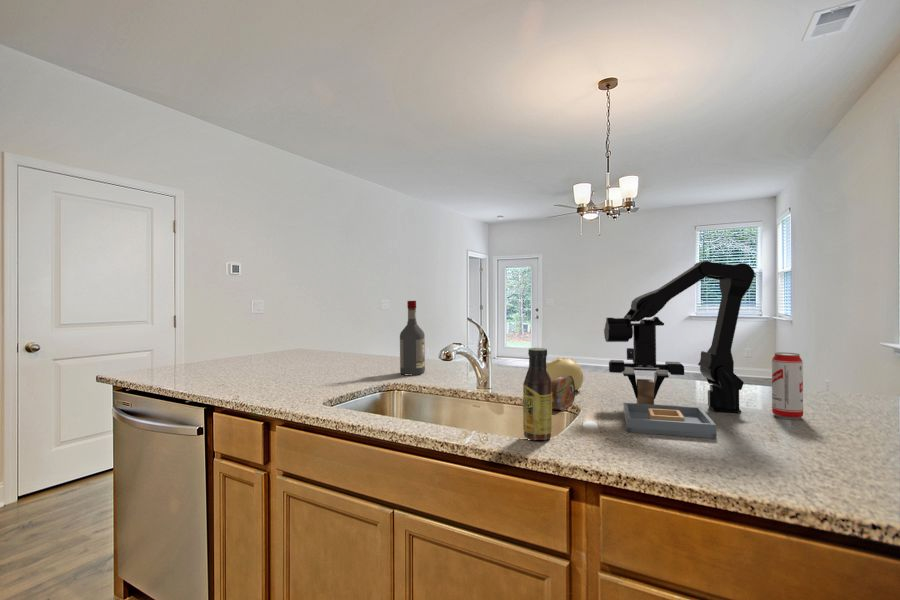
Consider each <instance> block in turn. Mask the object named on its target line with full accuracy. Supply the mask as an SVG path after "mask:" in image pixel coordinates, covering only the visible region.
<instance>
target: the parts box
mask: <svg viewBox="0 0 900 600" xmlns="http://www.w3.org/2000/svg"><path fill="white" fill-rule="evenodd" d="M623 417H624V423H625V428H626V431H627V433H636V434H637V433H638V434H639V433H640V434H650V435H652V434H653V435H654V434H655V435H661V436H662V435H663V436H664V435H665V436H675V437H676V436H677V437H691V438H703V439H704V438H705V439H716V440H717V438H718V437H717V424H716V423H715V422H714V421H713V419H712V418H711V417H710V416H709V415H708V414H707V413H706V412H705V411H704V410H703V408H702V407H701V406H686V405H668V404H667V405H666V404H655V403H654V404H637V402H636V403H635V402H633V403H632V402H623Z"/></svg>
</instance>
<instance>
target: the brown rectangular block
mask: <svg viewBox="0 0 900 600" xmlns="http://www.w3.org/2000/svg"><path fill="white" fill-rule="evenodd" d="M636 385H637V392H638V398H636V403H637V404H654V405H655V399H654V379H645V378H644V379H643V378H636Z"/></svg>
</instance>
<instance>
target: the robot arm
mask: <svg viewBox="0 0 900 600" xmlns="http://www.w3.org/2000/svg"><path fill="white" fill-rule="evenodd" d="M754 277H755V270H754V269H753V268H752V266H750V264H748V263H745V262H741V263H735V264H734V263H733V264H732V263H731V264H729V263H720V262H711V261H708V260H703V261H699V262H696V263H695V264H694V265H693V266H692V267H690V268H688V269H687V270H685V271H684V272H682V273H681V274H679V275H677V276H676V277H675V278H672V279H671V280H670V281H669V282H667V283H665V284H663V285H662V286H661V287H659V288H656V289H655V290H652V291H648V292H646V293H644V294H642V295H640V296H637V297H635V298H634V299H632V301H631V303H630V308H629V310H628V311H627V313H626V314H625V315H624V316H623V317H606V318H605V319H606V320H605V321H606V322H605V323H604V329H603V335H604V339H605V342H606V343H628V342H629V340H631V339H632V338H633V339H632V340H633V347H627V348H626V360H627V361H632V363H631V362H629V363H628V362H625V361H624V360H623V359H610V360H609V361H608V373H613V374H614V373H616V374H617V373H618V374H620V373H622V376H624V377H628V379H629V380H628V381H629V382H630V384H631V387H632V390H633V392H634V396H635V398H636V399H637V398H638V392H637V378H636V372H635V371H645V372H646V371H647V372H649V371H650V372H654V373H653V374H654V375H653V376H654V377H653V378H654V379H653V382H654V400H655V399H656V398H657V394H658V393H659V390H660V388H661V386H662V383H663V382H664V380H665V378H666V379H667V378H669V377H670V376H669V374H670V375H671V376H684V375H685V366H684V365H683V364H682V363H681V362H680V361H665V362H664V363H665V364H659V363H657V326H665V323H664V322H663V321H662V320H661V319H660V318H659V317H658V316H656V315H657V314H658V313H659V312H661V310H662V309H664V308H665V306H666V304H668V302H670V301H671V299H673V298H675V297H676V296H678V295H680V294H681V293H683V292H684V291H686V290H687V289H689V288H691V287H692V286H694V285H695V284H697V283H698V282H700V281H702V280H703V279H704V278H709V279H711V280H712V279H713V280H716V281H717V280H718V282H719V283H718V285H719V290H720V295H721V298H720V303H719V308H718V313H717V317H716V322H715V327H714V331H713V336H712V341H711V345H710V347H709V349H708V350H707V351H704V350H702V351H700V360H699V362H698V364H697V366H699V370H700V371H699V372H700V373H701V375H702V376H703V377H704V378H706V381H707V383H708V384H709V389H708V390H707V405H708V407H709V408H710V409H711V410H712V411H714V412H721V413H722V412H725V413H726V412H727V413H739V414H740V413H742V410H741V409H740V391H742V389H743V386H744V381H743V380H742V379H741V378H740V377H739V376H737V374H736V373H734V372H735V371H734V367H735V366H734V365H735V363H734V362H735V361H734V357H733V355H732V347H733V343H734V337H735V335H736V334H735V332H736V328H737V324H738V319H739V314H740V310H741V304H742V300H743V297H744V296H745V295H746V293H747V292H748V291H749V289H750V288H751V286H752V283H753V280H754ZM645 318H646V319H645ZM650 318H652V319H650ZM633 322H634V323H633ZM668 373H669V374H668Z"/></svg>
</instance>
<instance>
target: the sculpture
mask: <svg viewBox="0 0 900 600" xmlns="http://www.w3.org/2000/svg"><path fill="white" fill-rule="evenodd" d="M546 366H547V368H546V371H547V372H548V374H549V376H550V378H551V382H552V381H553V380H555V379H557V378H559V377H561V376H569V375H570V376H572V378H573V380H574V384H575V391H578V390H579V389H580V388H581V387H582V386H583V382H584V371H583V370H582V368H581V365H579V364H578V363H577V361H576V360H574V359H573V358H568V357H557V358H556V359H554V360H552V361H548V362H546Z"/></svg>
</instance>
